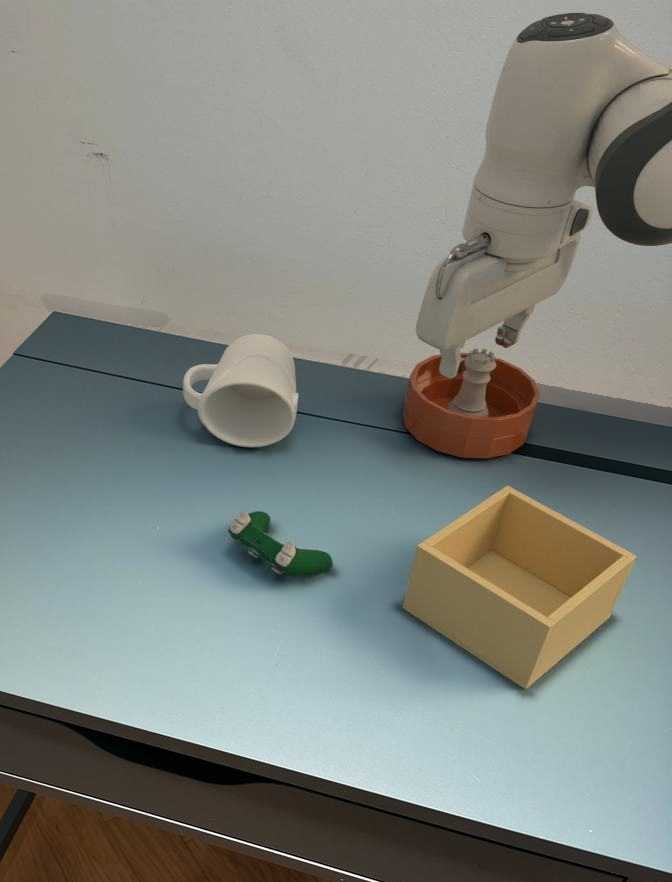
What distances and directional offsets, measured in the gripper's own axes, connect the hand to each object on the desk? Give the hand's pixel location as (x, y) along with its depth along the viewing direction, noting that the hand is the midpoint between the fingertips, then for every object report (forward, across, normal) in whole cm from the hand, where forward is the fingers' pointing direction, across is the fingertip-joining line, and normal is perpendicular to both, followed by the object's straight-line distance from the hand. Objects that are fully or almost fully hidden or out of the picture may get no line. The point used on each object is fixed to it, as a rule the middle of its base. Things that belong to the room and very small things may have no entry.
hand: (478, 358), depth 100 cm
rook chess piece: (+8, 0, 0) cm, 8 cm away
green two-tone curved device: (+8, -31, -2) cm, 32 cm away
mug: (+8, -18, +16) cm, 25 cm away
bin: (+8, -21, -20) cm, 30 cm away
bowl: (+8, 0, 0) cm, 8 cm away
